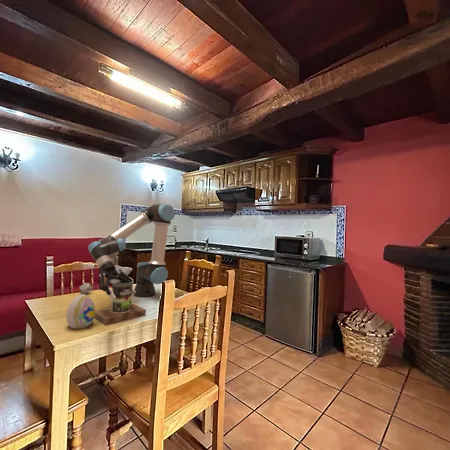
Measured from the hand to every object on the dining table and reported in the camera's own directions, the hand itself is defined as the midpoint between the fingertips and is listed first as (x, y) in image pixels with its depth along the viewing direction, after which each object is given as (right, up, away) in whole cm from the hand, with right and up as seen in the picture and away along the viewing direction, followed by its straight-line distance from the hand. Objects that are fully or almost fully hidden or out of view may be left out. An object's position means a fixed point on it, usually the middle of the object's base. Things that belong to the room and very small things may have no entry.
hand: (124, 296), depth 138 cm
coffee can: (-2, -8, +1) cm, 9 cm away
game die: (-43, -10, +41) cm, 60 cm away
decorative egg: (-16, -11, -13) cm, 23 cm away
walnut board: (-3, -11, +1) cm, 11 cm away
